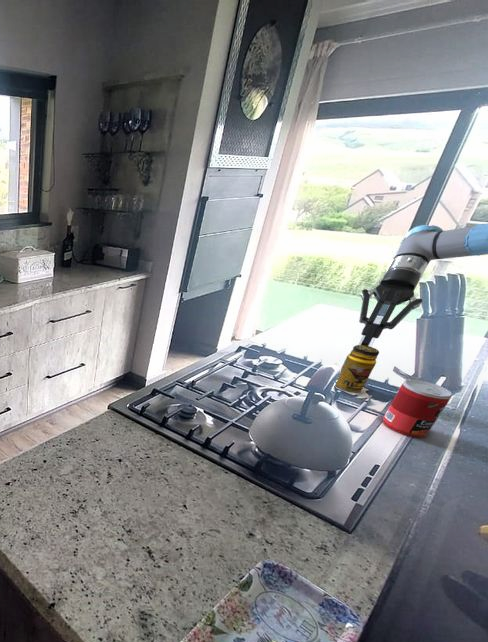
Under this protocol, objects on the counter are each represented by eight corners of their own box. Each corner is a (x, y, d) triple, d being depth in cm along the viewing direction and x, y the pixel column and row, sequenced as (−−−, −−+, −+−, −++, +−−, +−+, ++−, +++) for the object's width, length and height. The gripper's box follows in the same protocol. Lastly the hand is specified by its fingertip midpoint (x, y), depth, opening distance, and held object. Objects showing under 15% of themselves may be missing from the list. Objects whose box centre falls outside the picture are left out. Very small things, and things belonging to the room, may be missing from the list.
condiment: (353, 395, 108) (375, 355, 102) (319, 381, 115) (337, 343, 109) (368, 390, 111) (390, 350, 105) (334, 377, 117) (352, 339, 112)
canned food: (415, 441, 90) (442, 399, 85) (373, 422, 97) (396, 382, 91) (433, 433, 93) (460, 392, 88) (391, 415, 99) (414, 376, 94)
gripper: (375, 263, 115) (337, 331, 113) (438, 272, 106) (399, 346, 104) (369, 279, 120) (333, 344, 118) (429, 288, 112) (392, 359, 110)
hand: (364, 345), depth 111 cm, fingers closed
